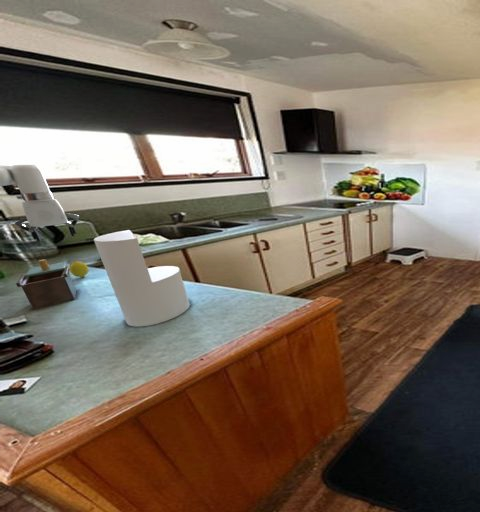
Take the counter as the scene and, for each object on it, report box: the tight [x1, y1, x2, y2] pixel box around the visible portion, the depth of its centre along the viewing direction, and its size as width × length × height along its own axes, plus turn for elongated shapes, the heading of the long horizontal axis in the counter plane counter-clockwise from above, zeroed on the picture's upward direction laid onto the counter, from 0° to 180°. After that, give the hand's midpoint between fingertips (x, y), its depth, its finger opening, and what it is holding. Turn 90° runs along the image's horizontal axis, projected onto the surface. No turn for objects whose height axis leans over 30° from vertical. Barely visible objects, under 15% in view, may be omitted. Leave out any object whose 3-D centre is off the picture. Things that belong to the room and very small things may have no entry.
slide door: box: [25, 259, 68, 277], centre depth 107 cm, size 10×11×5 cm
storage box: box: [15, 265, 77, 311], centre depth 103 cm, size 12×12×11 cm
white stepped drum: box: [93, 229, 191, 327], centre depth 89 cm, size 17×17×28 cm
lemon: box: [69, 260, 89, 278], centre depth 125 cm, size 6×6×8 cm
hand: (57, 238), depth 114 cm, fingers open, 9 cm apart
